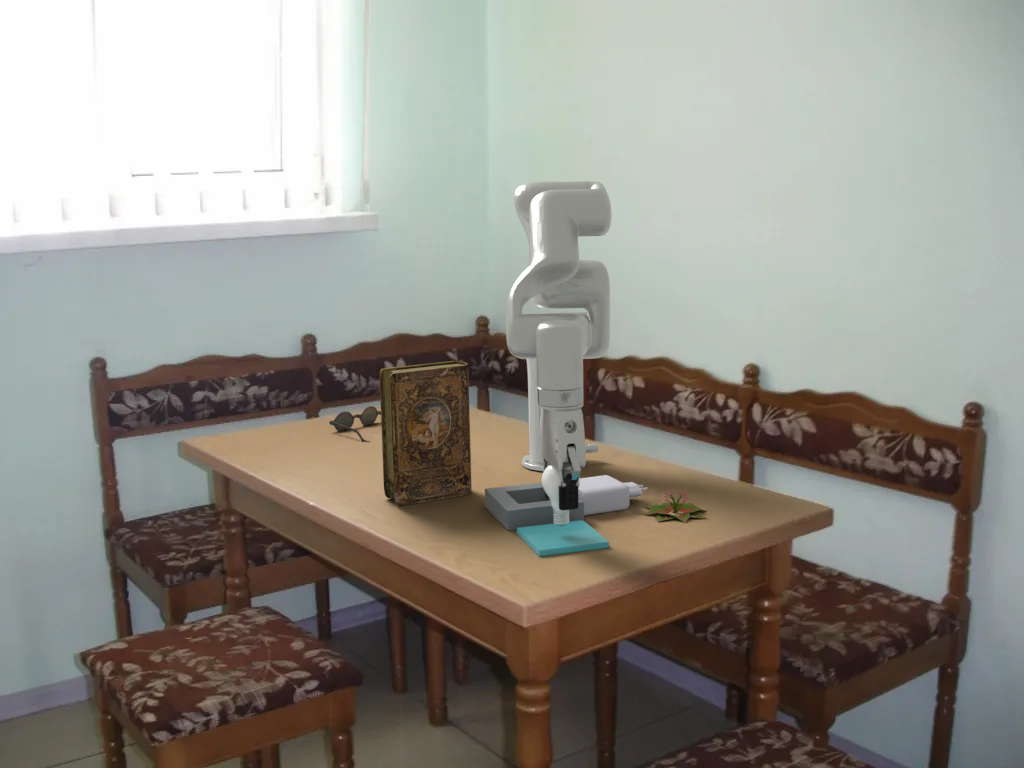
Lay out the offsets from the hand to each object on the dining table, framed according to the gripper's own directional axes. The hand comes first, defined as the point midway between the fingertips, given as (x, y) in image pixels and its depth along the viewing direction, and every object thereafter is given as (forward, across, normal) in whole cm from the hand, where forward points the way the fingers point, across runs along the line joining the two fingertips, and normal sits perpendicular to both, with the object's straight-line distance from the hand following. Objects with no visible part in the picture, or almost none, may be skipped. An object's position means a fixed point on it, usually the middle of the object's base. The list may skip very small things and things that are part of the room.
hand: (561, 501), depth 188 cm
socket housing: (+7, +15, 0) cm, 16 cm away
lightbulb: (+4, 0, 0) cm, 4 cm away
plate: (+7, 0, 0) cm, 7 cm away
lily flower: (+7, +7, -24) cm, 26 cm away
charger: (+7, +16, -15) cm, 23 cm away
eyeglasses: (+7, +87, +16) cm, 88 cm away
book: (+7, +32, +15) cm, 36 cm away
